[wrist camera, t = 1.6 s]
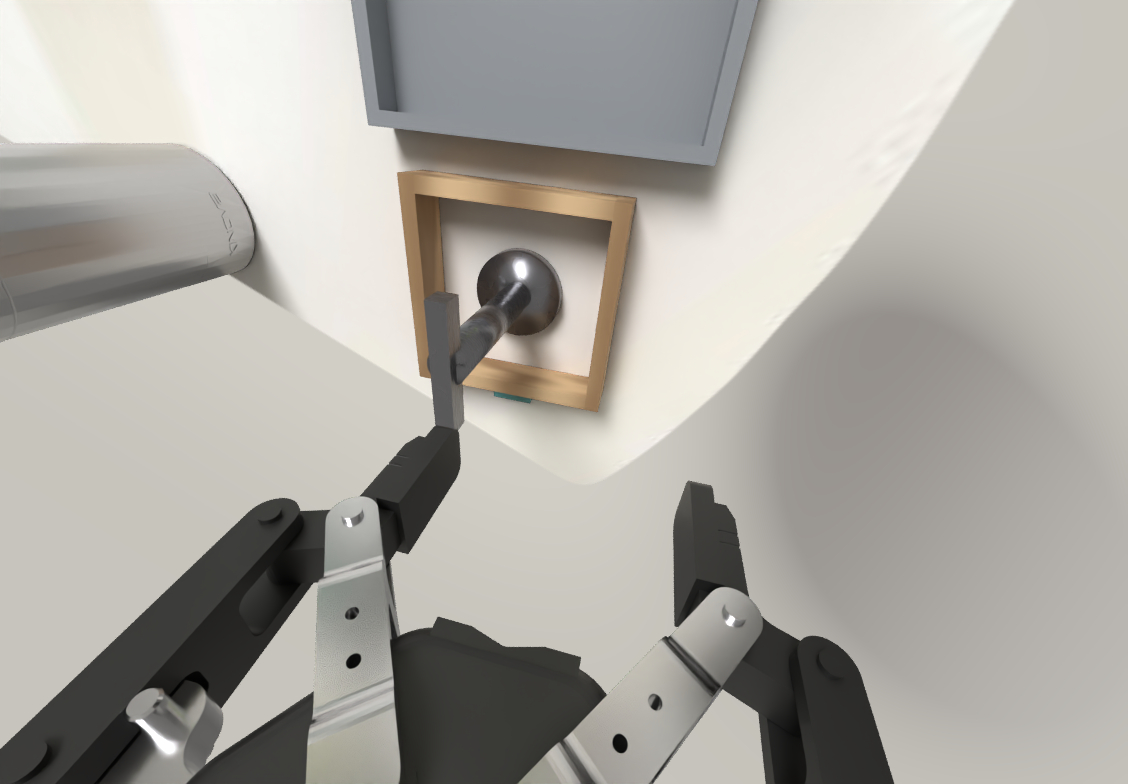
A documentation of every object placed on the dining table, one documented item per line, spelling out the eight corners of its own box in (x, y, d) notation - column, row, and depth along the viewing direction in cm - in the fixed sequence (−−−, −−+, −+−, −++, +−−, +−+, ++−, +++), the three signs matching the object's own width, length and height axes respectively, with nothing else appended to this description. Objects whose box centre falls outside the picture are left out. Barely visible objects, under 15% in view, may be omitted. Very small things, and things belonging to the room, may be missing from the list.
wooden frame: (439, 374, 35) (421, 392, 32) (422, 169, 26) (397, 172, 24) (600, 406, 33) (594, 428, 30) (636, 197, 25) (633, 204, 22)
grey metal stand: (482, 328, 32) (391, 421, 21) (481, 234, 28) (369, 290, 17) (557, 342, 31) (501, 445, 20) (566, 247, 27) (503, 313, 16)
